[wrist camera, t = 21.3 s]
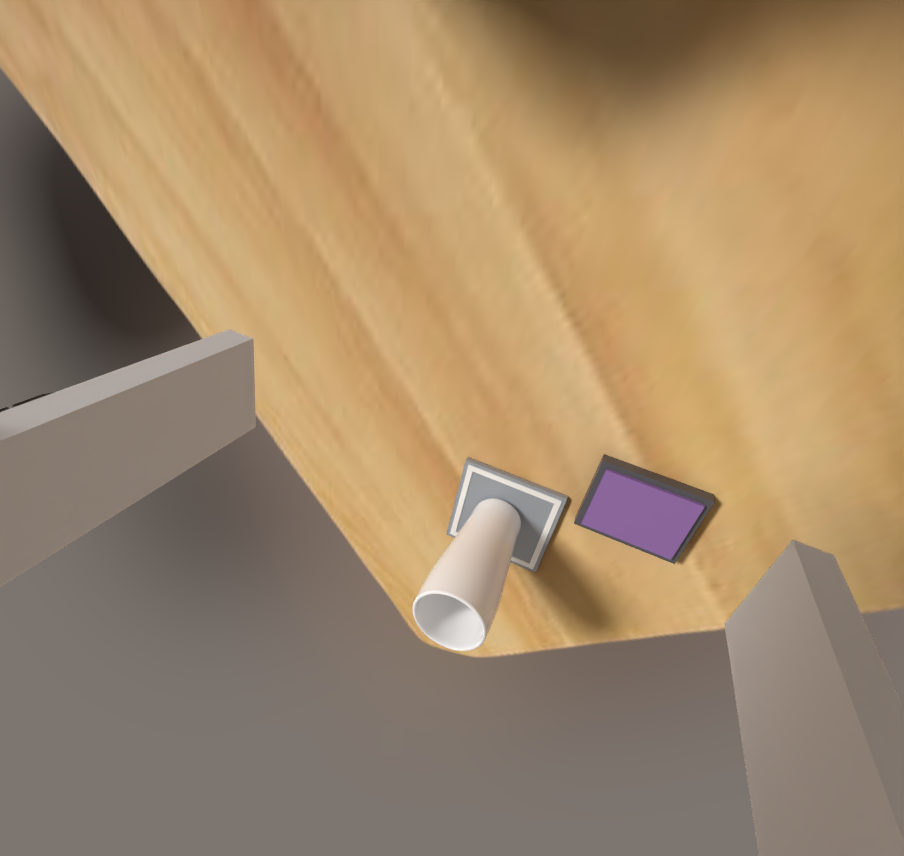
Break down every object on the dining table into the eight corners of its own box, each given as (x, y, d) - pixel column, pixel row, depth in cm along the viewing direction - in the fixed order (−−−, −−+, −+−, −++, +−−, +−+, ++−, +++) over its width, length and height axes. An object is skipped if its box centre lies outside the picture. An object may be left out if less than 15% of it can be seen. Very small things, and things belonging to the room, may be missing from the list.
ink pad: (575, 516, 49) (573, 525, 48) (603, 454, 45) (602, 462, 43) (674, 555, 47) (674, 566, 46) (713, 494, 43) (715, 504, 41)
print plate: (448, 531, 56) (446, 534, 56) (468, 457, 51) (465, 460, 50) (536, 569, 54) (535, 573, 53) (567, 496, 48) (566, 500, 48)
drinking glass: (466, 486, 52) (405, 583, 39) (528, 494, 49) (483, 600, 37) (471, 536, 54) (416, 642, 42) (530, 546, 52) (489, 660, 40)
